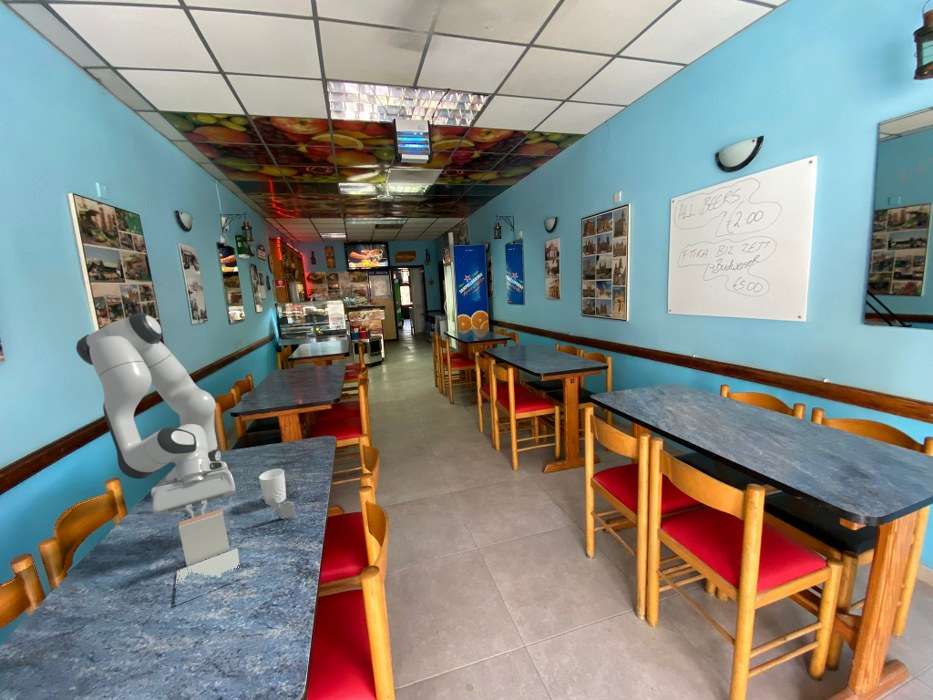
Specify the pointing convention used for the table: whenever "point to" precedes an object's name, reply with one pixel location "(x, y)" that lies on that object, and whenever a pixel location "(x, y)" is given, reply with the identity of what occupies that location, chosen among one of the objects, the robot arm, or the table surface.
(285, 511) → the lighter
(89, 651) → the table surface
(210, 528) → the tile
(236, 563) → the mat
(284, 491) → the white cup
